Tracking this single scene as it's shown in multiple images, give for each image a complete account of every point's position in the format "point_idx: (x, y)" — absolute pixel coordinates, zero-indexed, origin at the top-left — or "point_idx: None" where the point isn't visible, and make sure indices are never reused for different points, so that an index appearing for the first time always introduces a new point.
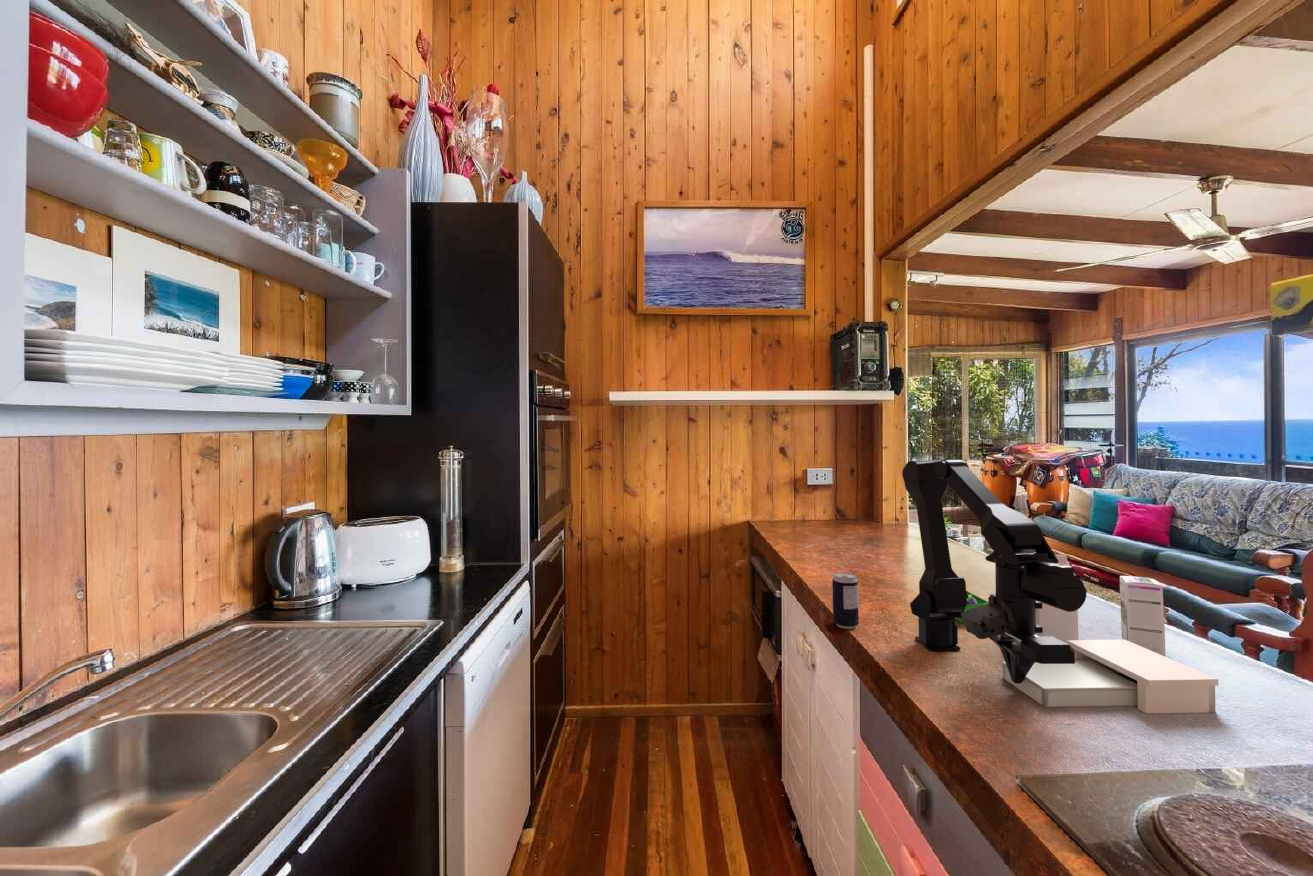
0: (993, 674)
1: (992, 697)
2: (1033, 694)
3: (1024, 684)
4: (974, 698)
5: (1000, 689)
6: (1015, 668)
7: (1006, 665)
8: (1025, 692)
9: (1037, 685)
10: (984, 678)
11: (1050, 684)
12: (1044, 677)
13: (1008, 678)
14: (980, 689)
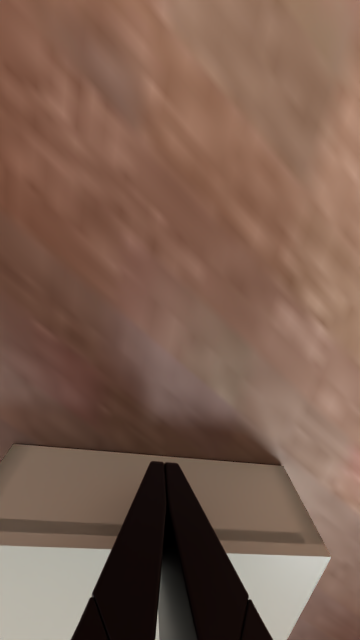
0: (324, 454)
1: (132, 278)
2: (77, 468)
3: None
4: (139, 149)
5: (200, 383)
6: (100, 579)
7: (223, 550)
8: (137, 458)
9: (15, 535)
10: (312, 393)
11: (3, 597)
12: None
13: (252, 477)
14: (226, 284)
